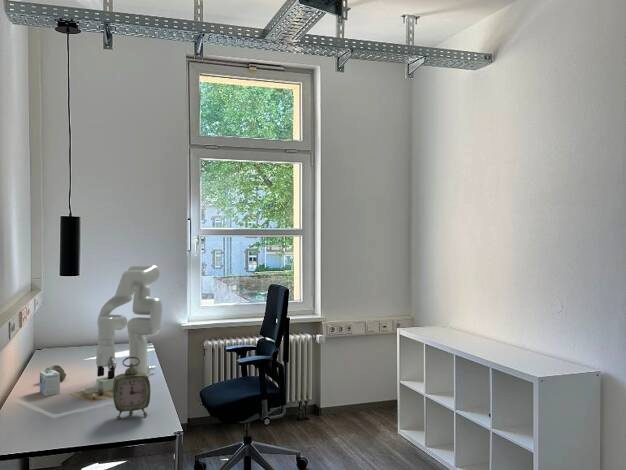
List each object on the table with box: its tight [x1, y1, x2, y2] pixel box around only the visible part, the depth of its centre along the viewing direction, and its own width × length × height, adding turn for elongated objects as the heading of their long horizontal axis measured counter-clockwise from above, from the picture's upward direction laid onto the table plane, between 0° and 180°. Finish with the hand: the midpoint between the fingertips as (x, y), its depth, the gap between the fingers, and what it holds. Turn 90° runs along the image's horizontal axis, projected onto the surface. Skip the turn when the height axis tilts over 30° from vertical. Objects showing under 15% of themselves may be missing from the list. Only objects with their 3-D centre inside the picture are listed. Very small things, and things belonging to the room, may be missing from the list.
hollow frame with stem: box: [84, 376, 114, 394], centre depth 273 cm, size 14×7×5 cm, turn 139°
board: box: [68, 389, 113, 403], centre depth 268 cm, size 22×22×1 cm
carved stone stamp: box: [44, 364, 67, 383], centre depth 296 cm, size 11×9×10 cm
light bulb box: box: [39, 370, 61, 397], centre depth 270 cm, size 11×7×11 cm, turn 40°
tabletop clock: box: [112, 356, 152, 421], centre depth 237 cm, size 14×9×25 cm, turn 114°
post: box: [99, 382, 103, 396], centre depth 265 cm, size 2×2×6 cm
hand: (105, 377), depth 275 cm, fingers open, 9 cm apart
